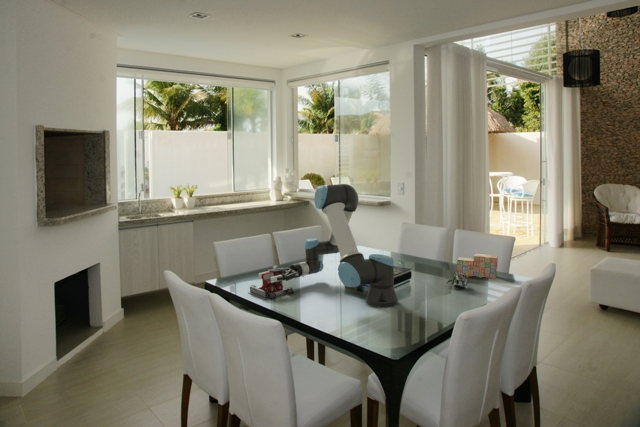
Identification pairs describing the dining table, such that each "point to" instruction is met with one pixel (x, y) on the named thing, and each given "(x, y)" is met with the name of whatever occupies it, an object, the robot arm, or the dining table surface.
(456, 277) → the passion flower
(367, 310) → the dining table surface
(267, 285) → the red plastic toy vehicle
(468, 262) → the stack of blocks
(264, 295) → the chassis bay
